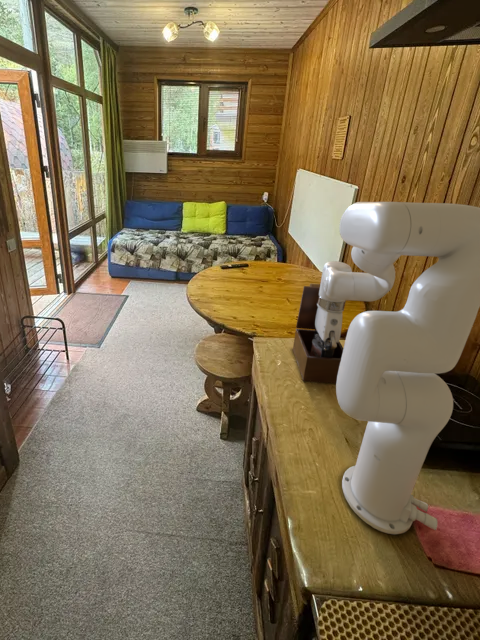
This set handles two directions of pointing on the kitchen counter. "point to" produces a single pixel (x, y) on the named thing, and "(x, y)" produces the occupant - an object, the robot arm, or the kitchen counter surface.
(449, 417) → the robot arm
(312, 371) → the chest
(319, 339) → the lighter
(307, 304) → the lid
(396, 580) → the kitchen counter surface
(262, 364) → the kitchen counter surface
